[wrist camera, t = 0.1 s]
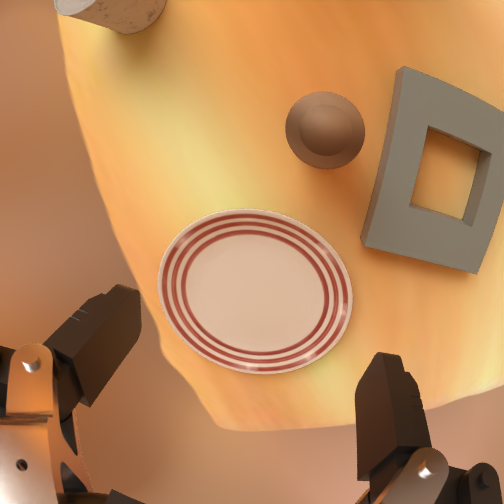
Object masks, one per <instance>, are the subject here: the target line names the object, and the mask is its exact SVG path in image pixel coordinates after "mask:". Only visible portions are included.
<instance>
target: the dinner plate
mask: <svg viewBox="0 0 504 504" xmlns="http://www.w3.org/2000/svg"><path fill="white" fill-rule="evenodd" d="M158 293H159V299H160V303H161V306H162V309H163V311H164V314H165V316H166V318H167V320H168V322H169V323H170V325H171V326H172V328H173V329H174V331H175V332H176V333H177V335H178V336H179V337H180V338H181V339H182V340H183V341H184V342H185V343H186V344H187V345H188V346H189V347H190V348H192V349H193V350H194V351H196V352H197V353H198V354H200V355H201V356H203V357H205V358H206V359H208V360H210V361H212V362H214V363H216V364H218V365H221V366H223V367H226V368H229V369H232V370H235V371H239V372H244V373H251V374H278V373H284V372H289V371H293V370H296V369H299V368H302V367H305V366H307V365H309V364H311V363H313V362H315V361H316V360H318V359H320V358H321V357H322V356H324V355H325V354H326V353H327V352H329V351H330V350H331V349H332V348H333V347H334V346H335V345H336V343H337V342H338V341H339V339H340V338H341V337H342V335H343V333H344V332H345V330H346V328H347V325H348V323H349V320H350V316H351V312H352V305H353V292H352V285H351V281H350V277H349V275H348V272H347V269H346V267H345V265H344V263H343V261H342V260H341V258H340V256H339V255H338V253H337V252H336V251H335V250H334V248H333V247H332V246H331V245H330V244H329V243H328V242H327V241H326V240H325V239H324V238H323V237H322V236H321V235H320V234H318V233H317V232H316V231H314V230H313V229H311V228H310V227H309V226H307V225H305V224H303V223H302V222H300V221H298V220H296V219H293V218H291V217H288V216H286V215H283V214H280V213H276V212H272V211H267V210H260V209H245V208H242V209H229V210H223V211H219V212H215V213H212V214H209V215H207V216H204V217H202V218H200V219H198V220H196V221H195V222H193V223H191V224H190V225H188V226H187V227H186V228H184V229H183V230H182V231H181V232H180V233H179V234H178V235H177V236H176V237H175V238H174V239H173V241H172V242H171V243H170V245H169V246H168V248H167V250H166V251H165V254H164V256H163V258H162V261H161V264H160V267H159V273H158Z"/></svg>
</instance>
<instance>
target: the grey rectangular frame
mask: <svg viewBox="0 0 504 504" xmlns="http://www.w3.org/2000/svg"><path fill="white" fill-rule="evenodd" d="M427 128H429V129H431V130H434V131H437V132H439V133H442V134H444V135H447V136H449V137H451V138H454V139H456V140H458V141H461V142H463V143H465V144H467V145H470V146H472V147H474V148H476V149H478V150H480V156H479V160H478V165H477V169H476V173H475V177H474V181H473V185H472V189H471V193H470V196H469V200H468V203H467V206H466V210H465V213H464V216H463V219H462V220H461V219H458V218H455V217H452V216H449V215H446V214H443V213H440V212H437V211H433V210H430V209H427V208H424V207H421V206H417V205H414V204H411V203H410V200H411V197H412V193H413V189H414V186H415V182H416V178H417V174H418V170H419V166H420V161H421V157H422V153H423V148H424V143H425V138H426V133H427ZM503 200H504V112H502V111H500V110H499V109H497V108H495V107H493V106H492V105H490V104H488V103H486V102H484V101H483V100H481V99H479V98H477V97H475V96H473V95H471V94H469V93H467V92H465V91H463V90H461V89H459V88H457V87H455V86H452V85H450V84H448V83H446V82H444V81H441V80H439V79H437V78H434V77H432V76H429V75H427V74H424V73H422V72H419V71H417V70H414V69H411V68H408V67H406V66H403V67H402V68H400V69H398V70H397V73H396V80H395V86H394V93H393V99H392V105H391V111H390V116H389V122H388V127H387V132H386V137H385V142H384V146H383V151H382V156H381V160H380V165H379V169H378V173H377V177H376V181H375V185H374V189H373V193H372V197H371V201H370V205H369V209H368V212H367V216H366V220H365V223H364V227H363V230H362V233H361V237H360V238H361V240H362V242H363V245H364V246H365V247H369V248H373V249H378V250H382V251H386V252H390V253H394V254H399V255H403V256H407V257H411V258H415V259H419V260H423V261H427V262H431V263H435V264H439V265H443V266H447V267H451V268H454V269H458V270H462V271H466V272H470V273H473V274H477V273H478V270H479V268H480V266H481V263H482V261H483V258H484V256H485V253H486V251H487V248H488V245H489V243H490V240H491V237H492V234H493V231H494V228H495V226H496V222H497V219H498V216H499V213H500V210H501V206H502V203H503Z"/></svg>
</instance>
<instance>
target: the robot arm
mask: <svg viewBox="0 0 504 504" xmlns="http://www.w3.org/2000/svg"><path fill="white" fill-rule="evenodd" d="M140 332H141V305H140V293H139V291H138V290H136V289H133V288H130V287H127V286H123V285H121V284H117V285H115V286H114V287H113V288H112V289H111V290H110V291H109V292H108V293H107V294H106V295H105V294H102V293H101V294H99V295H97V296H95V297H93V298H90V299H88V300H87V301H86V302H85V303H84V304H83V305H82V306H81V307H80V308H79V310H77V311H76V312H75V313H74V314H73V315H72V317H70V318H68V320H66V321H65V322H64V323H63V324H62V325H61V326H60V327H59V328H58V329H57V330H56V331H55V332H54V333H53V334H52V335H51V336H50V337H49V338H48V339H47V340H46V341H45V342H44V343H43V344H38V343H29V344H26V345H23V346H21V347H20V348H18V349H17V350H14V349H10V348H7V347H3V346H0V504H144V503H142V502H140V501H137V500H135V499H133V498H130V497H128V496H125V495H123V494H121V493H119V492H117V491H115V490H113V489H112V490H111V492H110V494H109V495H107V494H101V493H94V492H93V488H92V485H91V481H90V478H89V475H88V473H87V470H86V468H85V466H84V462H83V459H82V454H81V449H80V442H79V437H78V429H77V422H76V414H75V409H74V408H75V407H76V405H77V404H78V402H80V403H82V404H84V405H86V406H88V407H91V405H92V404H93V402H94V401H95V399H96V398H97V397H98V395H99V394H100V392H101V391H102V389H103V388H104V386H105V385H106V384H107V382H108V381H109V380H110V378H111V377H112V375H113V374H114V372H115V371H116V369H117V368H118V366H119V365H120V364H121V362H122V361H123V360H124V358H125V357H126V355H127V354H128V353H129V351H130V350H131V349H132V347H133V346H134V344H135V343H136V342H137V340H138V338H139V335H140ZM420 397H421V396H420V392H419V389H418V385H417V383H416V381H415V380H414V379H413V377H412V376H411V374H410V373H409V372H405V371H404V367H403V363H402V360H401V357H400V356H399V355H394V354H388V353H382V352H378V353H377V354H376V355H375V356H374V358H373V359H372V361H371V363H370V365H369V366H368V368H367V370H366V371H365V373H364V375H363V376H362V378H361V379H360V381H359V383H358V385H357V388H356V392H355V411H356V431H357V480H358V481H370V488H369V489H367V490H366V491H365V493H364V494H363V495H362V496H361V497H360V498H359V499H358V501H357V502H356V503H355V504H503V503H502V496H501V489H500V483H499V477H498V475H497V472H496V470H495V469H494V468H493V467H492V466H491V465H489V464H487V463H478V464H476V465H475V466H474V467H472V468H471V469H470V470H468V471H467V470H463V469H459V468H455V467H451V466H449V465H448V462H447V460H446V458H445V457H444V455H443V454H442V453H441V452H440V451H438V450H436V449H434V448H432V445H431V441H430V435H429V431H428V426H427V421H426V417H425V413H424V409H422V408H423V404H422V400H421V399H420Z"/></svg>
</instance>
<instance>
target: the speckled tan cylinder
mask: <svg viewBox="0 0 504 504" xmlns="http://www.w3.org/2000/svg"><path fill="white" fill-rule="evenodd" d="M165 4H166V0H54V6H55V9H56V11H57V12H58V13H59V14H61V15H63V16H70V17H74V18H77V19H81V20H84V21H87V22H90V23H94V24H97V25H100V26H103V27H106V28H109V29H112V30H114V31H116V32H119V33H122V34H132V33H136V32H139V31H141V30H143V29H145V28H146V27H148V26H149V25H150V24H152V23H153V22H154V21H155V20H156V19H157V18H158V16H159V15H160V14H161V12H162V11H163V9H164V7H165Z"/></svg>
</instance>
